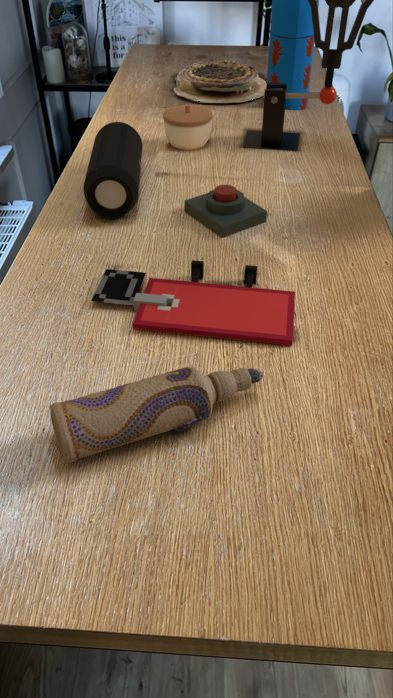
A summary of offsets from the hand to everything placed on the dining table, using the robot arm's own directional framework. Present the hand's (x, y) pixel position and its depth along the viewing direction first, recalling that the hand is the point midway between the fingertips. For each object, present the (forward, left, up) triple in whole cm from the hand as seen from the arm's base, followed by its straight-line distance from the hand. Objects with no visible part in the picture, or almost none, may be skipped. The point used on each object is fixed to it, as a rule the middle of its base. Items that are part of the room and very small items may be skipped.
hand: (328, 84), depth 123 cm
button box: (-12, +36, -14) cm, 40 cm away
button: (-12, +36, -10) cm, 39 cm away
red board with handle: (-31, +56, -14) cm, 65 cm away
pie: (+47, -6, -14) cm, 49 cm away
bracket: (+8, +8, -14) cm, 17 cm away
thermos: (+26, -12, -14) cm, 32 cm away
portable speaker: (+8, +47, -14) cm, 50 cm away
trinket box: (+18, +24, -14) cm, 33 cm away
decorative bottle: (-49, +73, -14) cm, 89 cm away
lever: (+3, +4, -4) cm, 6 cm away
